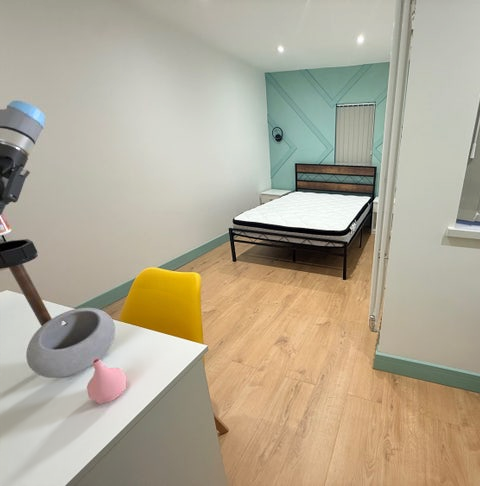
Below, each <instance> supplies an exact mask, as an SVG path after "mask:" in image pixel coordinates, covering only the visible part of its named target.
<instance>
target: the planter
mask: <svg viewBox="0 0 480 486" xmlns="http://www.w3.org/2000/svg"><path fill="white" fill-rule="evenodd" d="M63 322H64V324H63ZM115 337H116V326H115V322H114V320H113V318H112V317H111V316H110V315H109V313H107V312H105V311H104V310H101V309H99V308H95V307H79V308H75V309H70V310H68V311H65V312H63V313H60V314H58V315H56V316H55V317H53V318H52V319H51V320H49V321H48V322H47V323H45V324H44V325H43V326H40V327H39V328H38V329H37V331H36V332H35V333H34V334H33V335H32V337H31V339H30V340H29V342H28V345H27V348H26V354H25V355H26V357H25V358H26V362H27V365H28V367H29V369H30V370H31V371H33V372H34V373H35V374H36V375H38V376H40V377H43V378H49V379H59V378H61V379H62V378H65V377H70V376H73V375H76V374H78V373H81V372H83V371H85V370H86V369H88V368H89V367H91V366H93V364H92V361H93V360H94V359H96V358H100V360H101V359H102V358H103V357H104V356H105V354H106V353H107V352H108V351H109V350H110V348H111V346H112V344H113V343H114V340H115Z"/></svg>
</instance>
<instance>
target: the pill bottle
mask: <svg viewBox="0 0 480 486" xmlns="http://www.w3.org/2000/svg"><path fill="white" fill-rule="evenodd" d="M11 231H12V228H11V226H10V224H9V222H8V220H7V219H6V216H5V215H4V213H3V212H2V214H1V215H0V237H1V236H3V235H6V234H9V233H11Z"/></svg>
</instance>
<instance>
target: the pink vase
mask: <svg viewBox="0 0 480 486" xmlns="http://www.w3.org/2000/svg"><path fill="white" fill-rule="evenodd" d="M92 364H93V365H92V366H93V368H94V371H93V376H92V377H91V378H90V380H89V381H88V383H87V385H86V390H87V391H86V392H87V395H88V398H89V399H90V400H91V401H93V402H95V403H97V404H107V403H109V402H111V401H113V400H115V399H117V398H118V397H120V395H122V394H123V393H124V391H125V389H126V387H127V376H126V373H125V372H124V371H123V370H122V369H121V368H119V367H108V366H105V365H103V363H102V360H101V359H100V358H96V359H94V360H93V361H92Z"/></svg>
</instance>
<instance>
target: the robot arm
mask: <svg viewBox="0 0 480 486" xmlns="http://www.w3.org/2000/svg"><path fill="white" fill-rule="evenodd" d="M45 121H46V116H45V114H44V113H43V111H41V110H40V109H39V108H38V107H37V106H35V105H33V104H31V103H29V102H26V101H23V100H12V101H10V102H9V103H8V104H7V105H6V107H5V108H3V109H2V108H1V109H0V215H1V214H2V213H3V212H4V210H5V208H6V206H7V205H9V204H10V203H17V202H18V200H19V198H20V195H21V192H22V190H23V187H24V184H25V181H26V179H27V178H28V176H29V175H30V174H31V171H29V170H28V169H26V168H25V167H26V164H27V162H28V160H29V157H30V155H31V153H32V151H33V148H34V146H35V145H36V142H37V141H38V139H39V137H40V134H41V132H42V130H44V126H45Z"/></svg>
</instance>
